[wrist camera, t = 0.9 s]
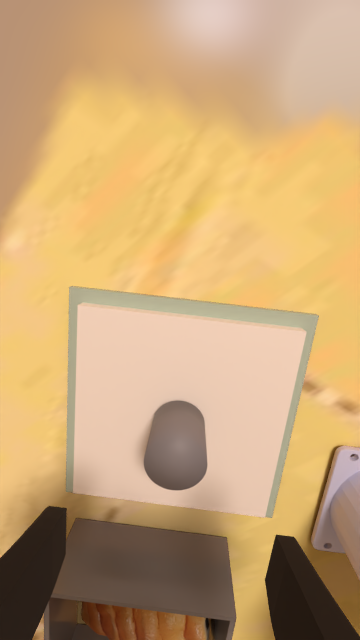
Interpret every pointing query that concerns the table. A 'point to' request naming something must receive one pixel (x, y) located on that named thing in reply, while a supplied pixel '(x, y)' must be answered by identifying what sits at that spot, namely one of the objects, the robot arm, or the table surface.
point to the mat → (197, 309)
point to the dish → (141, 577)
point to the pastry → (143, 623)
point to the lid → (181, 407)
